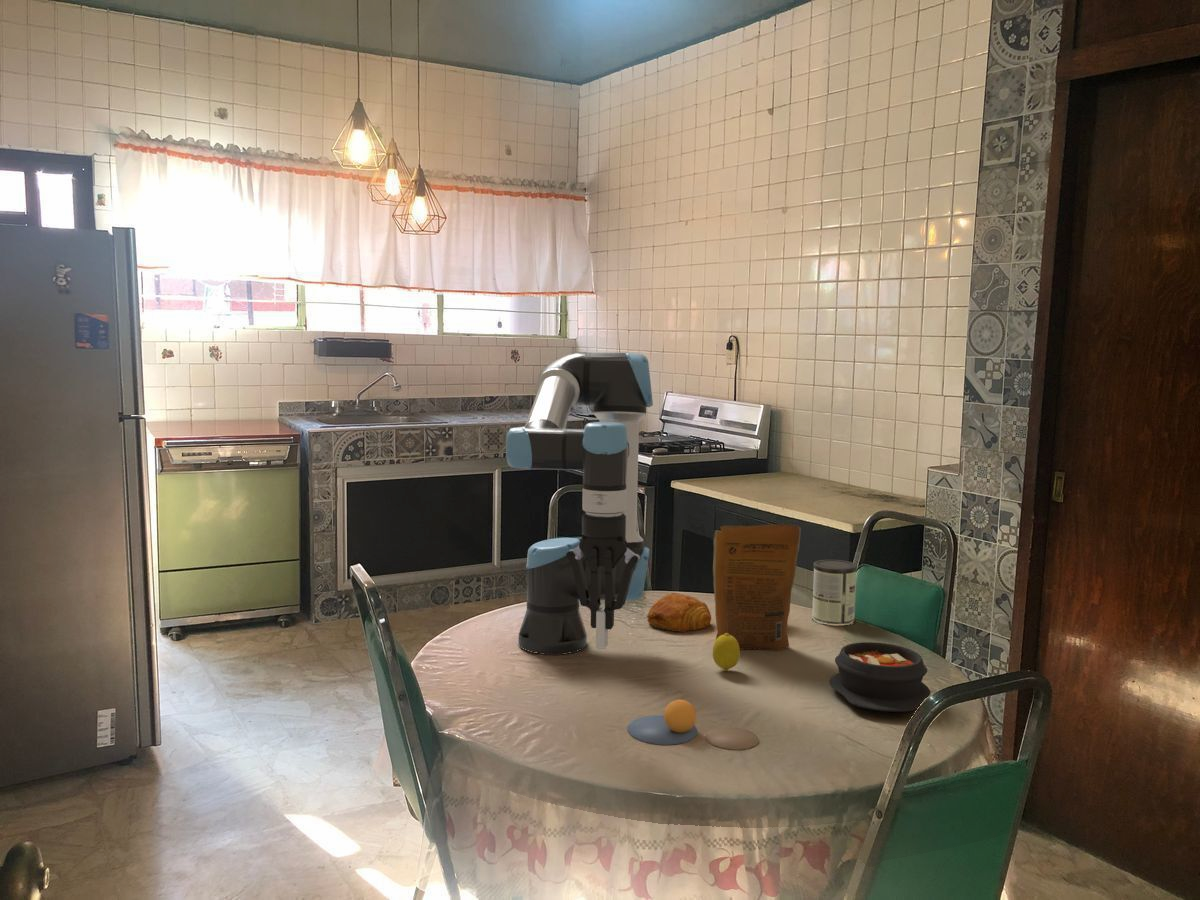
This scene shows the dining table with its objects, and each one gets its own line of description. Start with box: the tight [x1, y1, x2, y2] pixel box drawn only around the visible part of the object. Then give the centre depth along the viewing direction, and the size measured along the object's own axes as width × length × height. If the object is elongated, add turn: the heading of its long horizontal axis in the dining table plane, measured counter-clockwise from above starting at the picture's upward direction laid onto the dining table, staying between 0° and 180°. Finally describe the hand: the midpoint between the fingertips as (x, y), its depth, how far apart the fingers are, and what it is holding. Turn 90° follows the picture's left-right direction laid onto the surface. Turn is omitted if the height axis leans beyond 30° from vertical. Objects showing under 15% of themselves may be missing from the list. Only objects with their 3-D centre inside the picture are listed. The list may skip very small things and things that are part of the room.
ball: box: [663, 699, 697, 733], centre depth 160 cm, size 6×6×6 cm
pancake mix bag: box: [712, 524, 802, 651], centre depth 205 cm, size 7×19×28 cm, turn 87°
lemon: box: [712, 633, 741, 672], centre depth 190 cm, size 6×6×8 cm
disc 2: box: [704, 726, 760, 751], centre depth 158 cm, size 9×9×1 cm
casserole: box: [829, 641, 932, 713], centre depth 178 cm, size 25×19×8 cm
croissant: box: [646, 592, 712, 633], centre depth 223 cm, size 14×16×8 cm
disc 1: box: [627, 714, 698, 746], centre depth 161 cm, size 12×12×1 cm
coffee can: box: [811, 559, 858, 624], centre depth 227 cm, size 10×10×14 cm
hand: (601, 646), depth 162 cm, fingers closed
